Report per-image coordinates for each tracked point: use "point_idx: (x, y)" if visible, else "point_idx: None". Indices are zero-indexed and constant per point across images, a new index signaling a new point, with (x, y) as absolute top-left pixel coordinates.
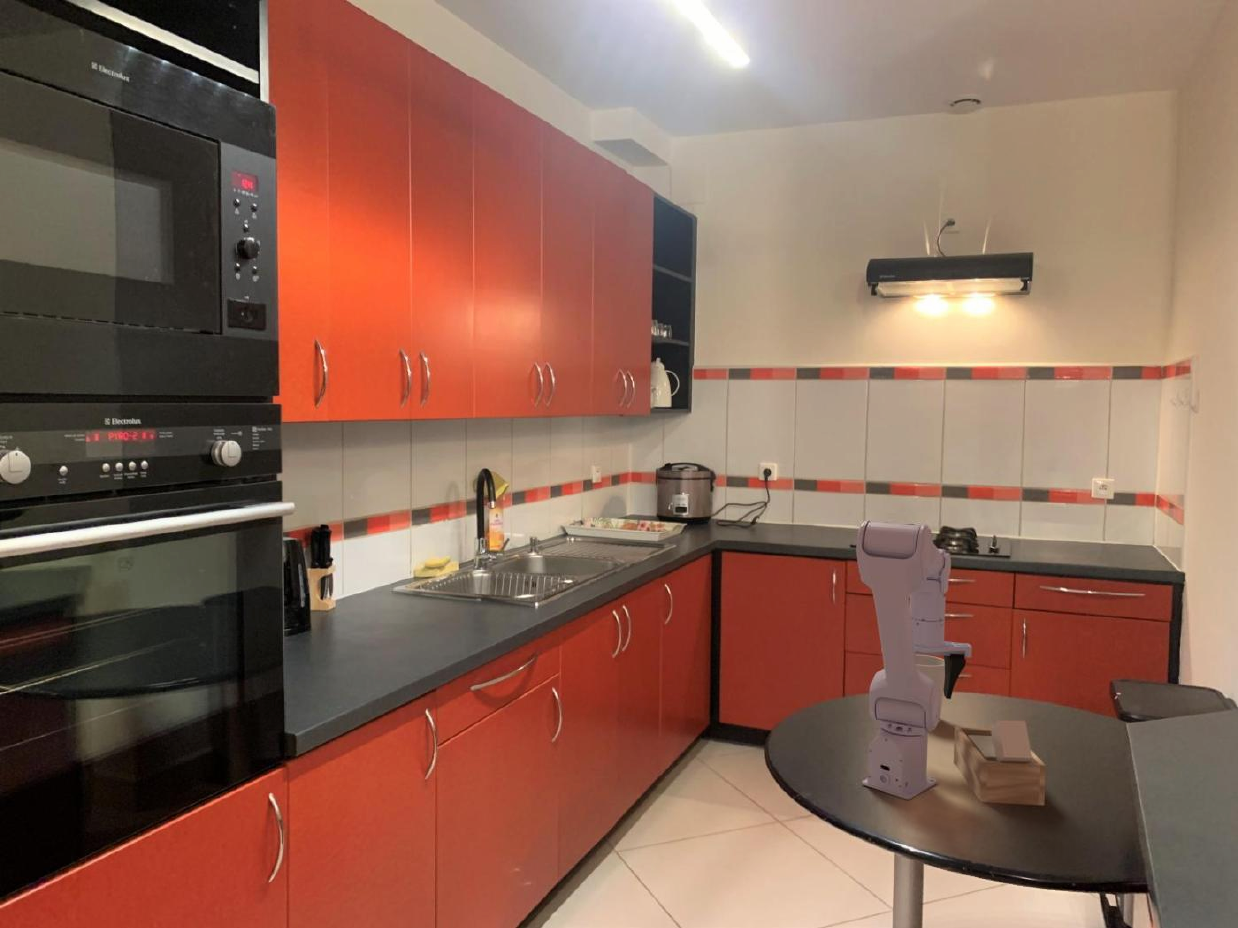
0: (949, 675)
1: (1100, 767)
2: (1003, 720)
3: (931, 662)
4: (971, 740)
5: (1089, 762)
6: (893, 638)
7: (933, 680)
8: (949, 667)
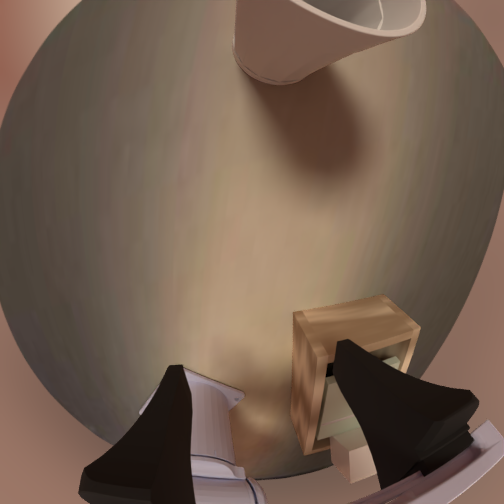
0: (368, 435)
1: (472, 260)
2: (358, 480)
3: None
4: (325, 398)
5: (471, 245)
6: None
7: (349, 52)
8: (381, 455)
